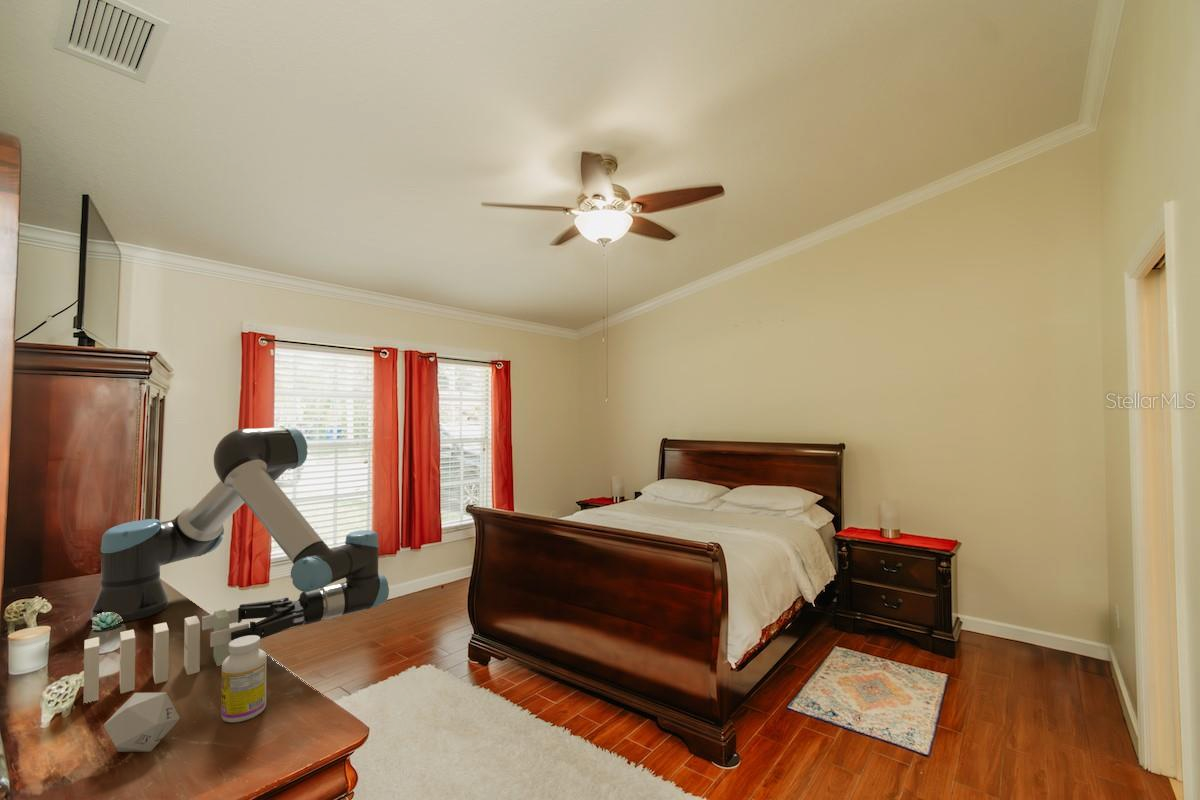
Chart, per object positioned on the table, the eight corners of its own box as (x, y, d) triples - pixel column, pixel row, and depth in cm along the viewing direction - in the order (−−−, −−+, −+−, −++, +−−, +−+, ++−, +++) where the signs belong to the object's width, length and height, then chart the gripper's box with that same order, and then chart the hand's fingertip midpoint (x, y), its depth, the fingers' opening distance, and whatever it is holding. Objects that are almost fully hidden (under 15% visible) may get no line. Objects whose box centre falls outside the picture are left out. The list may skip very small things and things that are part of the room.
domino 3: (196, 662, 112) (196, 615, 112) (199, 671, 108) (200, 622, 108) (184, 666, 110) (184, 618, 110) (187, 675, 106) (187, 625, 107)
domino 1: (98, 689, 101) (99, 636, 101) (98, 699, 97) (99, 645, 98) (83, 692, 100) (84, 640, 100) (83, 704, 96) (84, 649, 96)
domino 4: (224, 655, 115) (225, 609, 115) (229, 663, 111) (229, 616, 111) (213, 658, 114) (213, 611, 114) (217, 666, 110) (217, 618, 110)
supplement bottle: (227, 706, 95) (228, 635, 95) (270, 699, 97) (270, 630, 98) (215, 728, 89) (216, 651, 89) (261, 719, 91) (261, 645, 91)
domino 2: (133, 679, 105) (133, 629, 105) (134, 689, 101) (135, 637, 101) (119, 683, 103) (120, 632, 103) (120, 693, 99) (121, 640, 100)
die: (114, 776, 78) (165, 712, 81) (76, 741, 80) (127, 680, 83) (157, 761, 86) (202, 703, 89) (121, 729, 87) (166, 674, 90)
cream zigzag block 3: (165, 670, 108) (166, 622, 108) (168, 680, 104) (168, 629, 104) (152, 674, 107) (153, 624, 107) (154, 684, 103) (155, 632, 103)
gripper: (336, 634, 118) (215, 669, 102) (306, 606, 134) (198, 632, 119) (336, 601, 118) (215, 630, 102) (306, 577, 134) (198, 599, 119)
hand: (206, 631), depth 111 cm, fingers open, 10 cm apart
